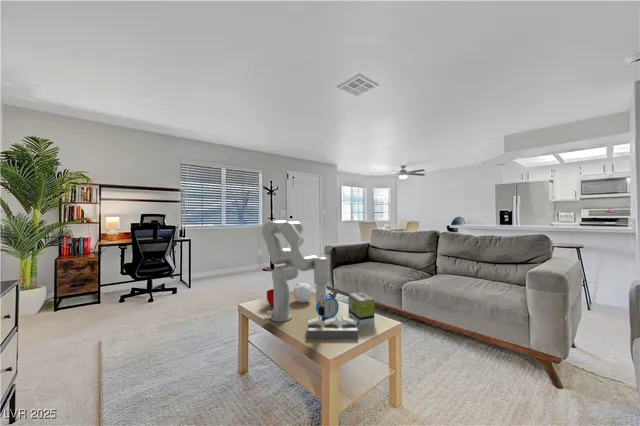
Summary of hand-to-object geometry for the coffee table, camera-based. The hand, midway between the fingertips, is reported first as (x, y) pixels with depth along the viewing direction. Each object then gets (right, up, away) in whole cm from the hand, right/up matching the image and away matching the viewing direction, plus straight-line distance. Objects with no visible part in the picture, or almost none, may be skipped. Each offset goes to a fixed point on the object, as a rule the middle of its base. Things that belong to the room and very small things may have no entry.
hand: (321, 314), depth 149 cm
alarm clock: (+4, -10, +20) cm, 23 cm away
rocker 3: (+15, -4, 0) cm, 15 cm away
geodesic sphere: (-14, -10, +51) cm, 54 cm away
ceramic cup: (-33, -10, +44) cm, 56 cm away
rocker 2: (+6, -4, 0) cm, 7 cm away
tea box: (+24, -10, +16) cm, 30 cm away
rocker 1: (-3, -4, 0) cm, 5 cm away
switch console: (+6, -10, -1) cm, 11 cm away
